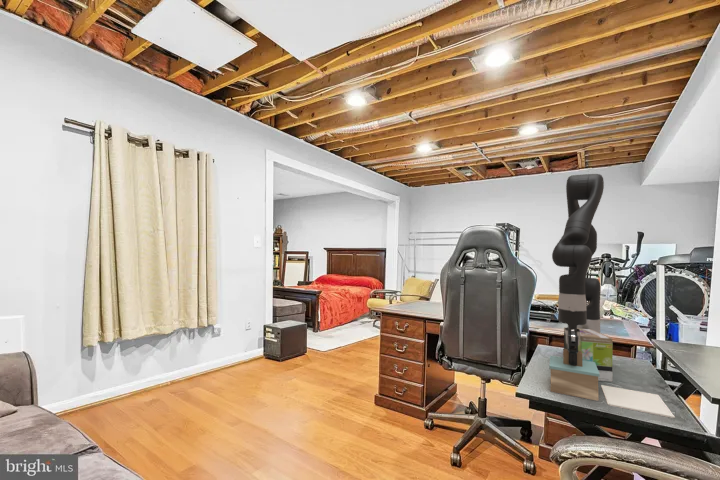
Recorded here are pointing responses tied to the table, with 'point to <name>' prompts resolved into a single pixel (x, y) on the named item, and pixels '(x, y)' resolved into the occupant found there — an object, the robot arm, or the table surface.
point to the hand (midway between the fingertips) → (572, 362)
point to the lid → (581, 366)
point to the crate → (574, 384)
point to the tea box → (596, 351)
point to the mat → (636, 401)
